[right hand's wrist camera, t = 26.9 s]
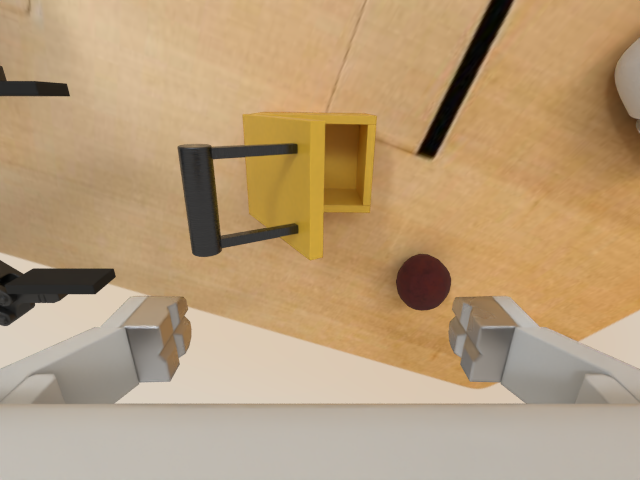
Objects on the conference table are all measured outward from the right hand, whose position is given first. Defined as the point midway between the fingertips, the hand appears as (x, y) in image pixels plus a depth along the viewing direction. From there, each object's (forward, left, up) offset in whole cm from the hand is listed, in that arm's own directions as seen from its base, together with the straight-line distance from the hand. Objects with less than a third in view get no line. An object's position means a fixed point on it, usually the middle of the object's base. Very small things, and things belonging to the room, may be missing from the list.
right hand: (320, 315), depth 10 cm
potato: (-12, +19, -36) cm, 43 cm away
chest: (+1, 0, -36) cm, 36 cm away
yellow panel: (+3, 0, -21) cm, 21 cm away
